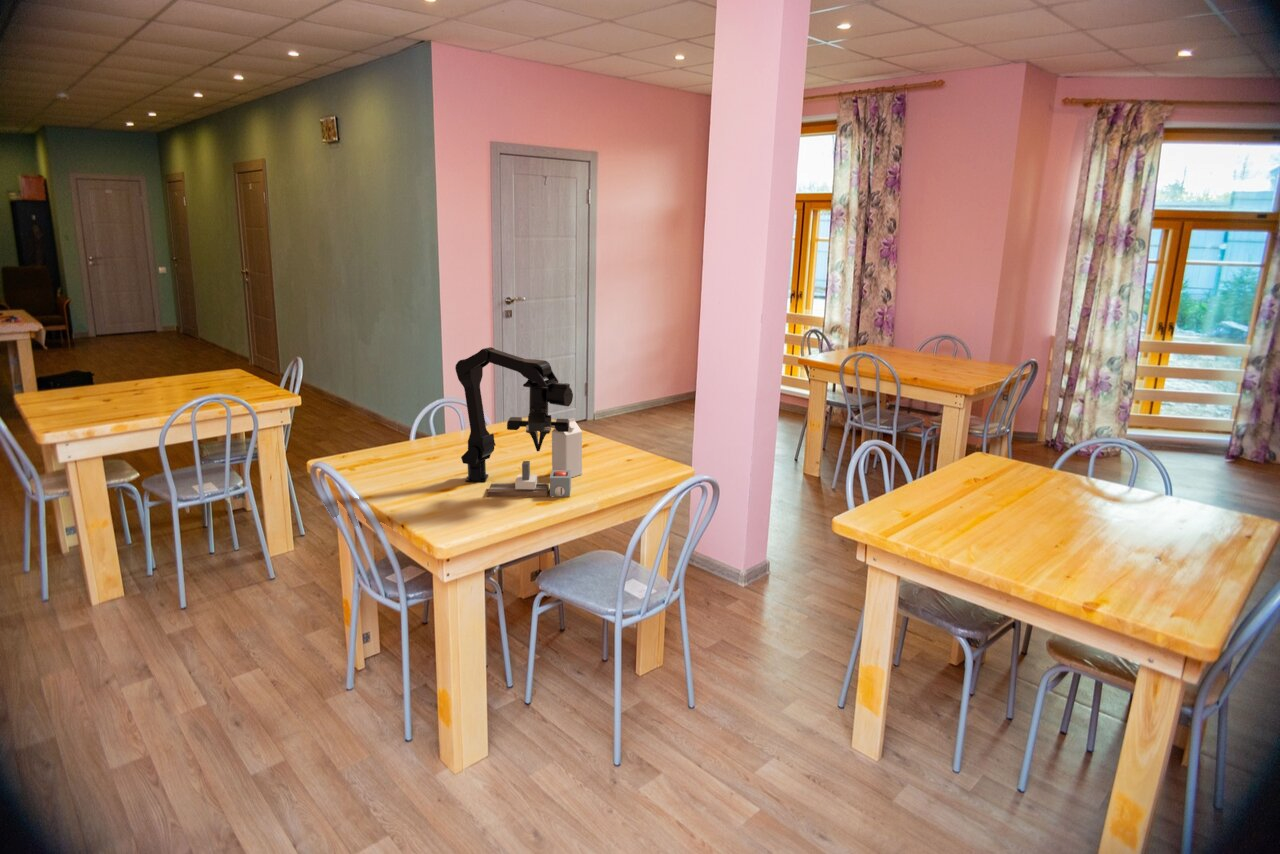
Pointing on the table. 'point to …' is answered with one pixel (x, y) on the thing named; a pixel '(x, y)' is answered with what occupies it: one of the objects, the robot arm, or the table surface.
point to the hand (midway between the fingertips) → (538, 451)
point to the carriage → (526, 478)
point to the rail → (516, 490)
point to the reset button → (560, 473)
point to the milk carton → (567, 449)
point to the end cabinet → (560, 484)
